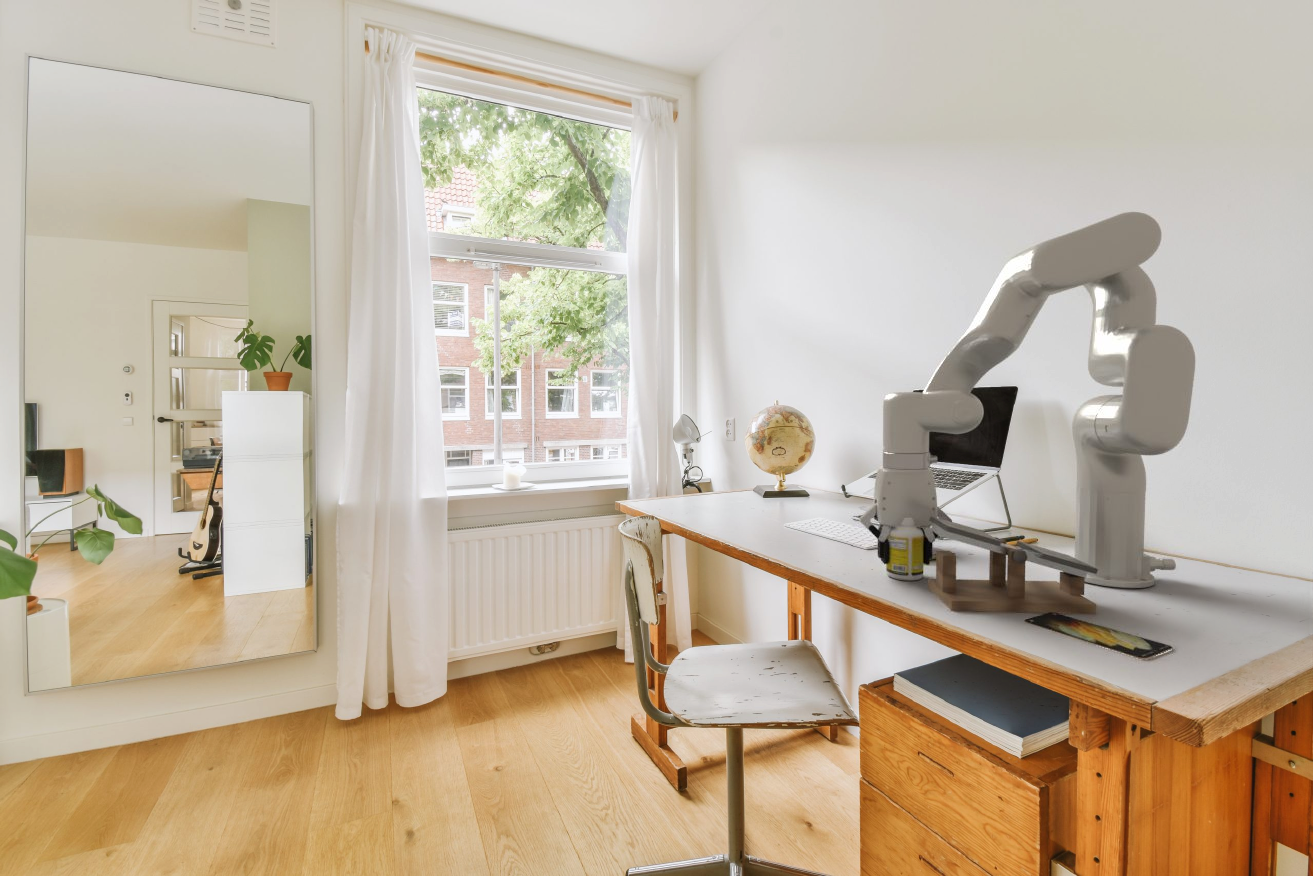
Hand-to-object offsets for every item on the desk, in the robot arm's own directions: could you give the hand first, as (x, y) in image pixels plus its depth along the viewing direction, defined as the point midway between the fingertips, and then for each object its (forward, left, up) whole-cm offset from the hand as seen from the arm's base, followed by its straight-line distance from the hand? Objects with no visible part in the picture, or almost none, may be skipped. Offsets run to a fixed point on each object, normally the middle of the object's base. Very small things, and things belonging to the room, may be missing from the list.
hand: (904, 561), depth 108 cm
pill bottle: (0, 0, -3) cm, 3 cm away
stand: (-12, +12, -3) cm, 17 cm away
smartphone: (-17, +25, -3) cm, 31 cm away
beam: (-12, +12, +5) cm, 18 cm away
